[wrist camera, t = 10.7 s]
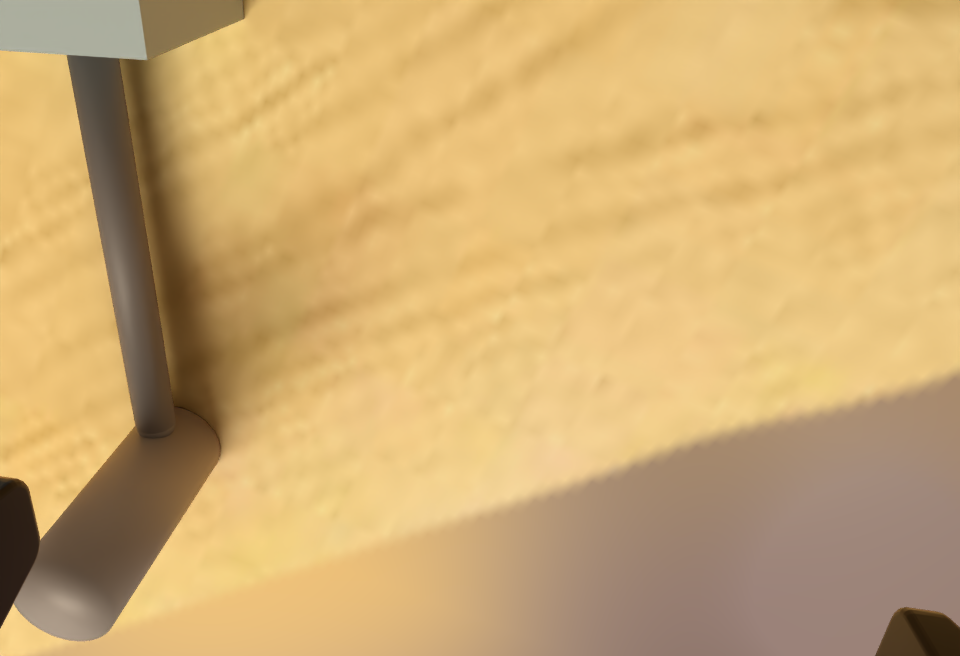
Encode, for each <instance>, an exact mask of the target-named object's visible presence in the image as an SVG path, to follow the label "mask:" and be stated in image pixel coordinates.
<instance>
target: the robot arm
mask: <svg viewBox="0 0 960 656" xmlns="http://www.w3.org/2000/svg"><path fill="white" fill-rule="evenodd" d="M39 547H40V536H39V531H38V527H37V522H36V518H35V513H34V509H33V504H32V500H31V496H30V491H29V488H28V486H27V485H26V484H25V483H24V482H23V481H21V480H19V479H15V478H8V477H1V476H0V628H1V626H2V624H3V622H4V620H5V619H6V617H7V615H8V613H9V611H10V609H11V607H12V605H13V603H14V601H15V599H16V597H17V596H18V594H19V592H20V590H21V588H22V586H23V584H24V582H25V580H26V578H27V576H28V574H29V573H30V571H31V569H32V567H33V565H34V563H35V561H36V558H37V555H38V552H39ZM875 656H960V627H959V626H958V625H957V624H956V623H954V622H953V621H952V620H951V619H950V618H949V617H947V616H946V615H944V614H943V613H939V612H936V611H929V610H923V609H916V608H909V607H904V608H900V609H898V610H897V611H896V612H895V613H894V615H893V616H892V618H891V620H890V623H889V625H888V627H887V630H886V632H885V634H884V637H883V639H882V641H881V644H880V646H879V648H878V650H877V653H876V655H875Z"/></svg>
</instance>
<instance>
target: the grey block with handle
mask: <svg viewBox="0 0 960 656" xmlns="http://www.w3.org/2000/svg"><path fill="white" fill-rule="evenodd" d="M242 19H244V11H243V0H0V50H2V51H17V52H33V53H48V54H63V55H67V59H68V65H69V70H70V75H71V81H72V86H73V91H74V97H75V102H76V108H77V113H78V118H79V124H80V129H81V135H82V140H83V145H84V151H85V156H86V162H87V167H88V172H89V178H90V183H91V188H92V194H93V199H94V205H95V210H96V215H97V221H98V226H99V232H100V237H101V242H102V248H103V253H104V258H105V264H106V269H107V275H108V280H109V285H110V291H111V296H112V302H113V307H114V312H115V318H116V323H117V328H118V334H119V339H120V345H121V350H122V355H123V361H124V366H125V372H126V377H127V382H128V388H129V393H130V398H131V404H132V409H133V415H134V420H135V425H136V426H135V427H134V428H133V429H132V431H131V432H130V433H129V434H128V435H127V437H126V438H125V439H124V440H123V441H122V443H121V444H120V445H119V446H118V447H117V449H116V450H115V451H114V452H113V454H112V455H111V456H110V457H109V458H108V460H107V461H106V462H105V463H104V464H103V466H102V467H101V468H100V469H99V470H98V472H97V473H96V474H95V475H94V476H93V478H92V479H91V480H90V481H89V482H88V484H87V485H86V486H85V487H84V488H83V490H82V491H81V492H80V493H79V494H78V496H77V497H76V498H75V499H74V500H73V502H72V503H71V504H70V505H69V506H68V508H67V509H66V510H65V511H64V512H63V514H62V515H61V516H60V517H59V519H58V520H57V521H56V522H55V523H54V525H53V526H52V527H51V528H50V529H49V531H48V532H47V533H46V534H45V535H44V537H43V538H42V539H41V540H40V547H39V552H38V555H37V558H36V561H35V563H34V565H33V567H32V569H31V571H30V573H29V574H28V576H27V578H26V580H25V582H24V584H23V586H22V588H21V590H20V592H19V594H18V596H17V597H16V599H15V601H14V605H15V607H16V608H17V609H18V611H19V612H20V613H21V614H22V615H23V617H25V618H26V619H27V620H28V621H29V622H30V623H31V624H33V625H34V626H36V627H37V628H39V629H40V630H42V631H44V632H46V633H48V634H50V635H52V636H55V637H58V638H62V639H65V640H71V641H90V640H94V639H97V638H100V637H102V636H103V635H105V634H106V633H107V632H108V631H109V630H110V629H111V627H112V626H113V624H114V623H115V621H116V620H117V618H118V617H119V615H120V613H121V612H122V610H123V609H124V607H125V606H126V604H127V603H128V601H129V599H130V598H131V596H132V595H133V593H134V592H135V590H136V589H137V587H138V585H139V584H140V582H141V581H142V579H143V578H144V576H145V574H146V573H147V571H148V570H149V568H150V567H151V565H152V564H153V562H154V560H155V559H156V557H157V556H158V554H159V553H160V551H161V550H162V548H163V546H164V545H165V543H166V542H167V540H168V539H169V537H170V536H171V534H172V532H173V531H174V529H175V528H176V526H177V525H178V523H179V522H180V520H181V518H182V517H183V515H184V514H185V512H186V511H187V509H188V508H189V506H190V504H191V503H192V501H193V500H194V498H195V497H196V495H197V494H198V492H199V490H200V489H201V487H202V486H203V484H204V483H205V481H206V479H207V478H208V476H209V475H210V473H211V472H212V470H213V469H214V467H215V465H216V464H217V462H218V460H219V457H220V444H219V440H218V438H217V436H216V434H215V432H214V431H213V429H212V428H211V427H210V425H209V424H208V423H207V422H206V421H205V420H203V419H202V418H201V417H199V416H198V415H196V414H194V413H192V412H190V411H188V410H185V409H182V408H178V407H174V404H173V398H172V392H171V385H170V379H169V373H168V366H167V360H166V354H165V347H164V341H163V335H162V328H161V322H160V316H159V309H158V303H157V297H156V290H155V284H154V278H153V271H152V265H151V259H150V252H149V246H148V240H147V233H146V227H145V221H144V214H143V208H142V202H141V195H140V189H139V183H138V176H137V170H136V164H135V157H134V151H133V145H132V138H131V132H130V126H129V119H128V113H127V107H126V100H125V94H124V88H123V81H122V75H121V69H120V62H119V58H123V59H138V60H149V59H151V58H153V57H156V56H158V55H160V54H163V53H165V52H167V51H170V50H172V49H174V48H177V47H179V46H182V45H184V44H186V43H189V42H191V41H193V40H196V39H198V38H200V37H203V36H205V35H207V34H210V33H212V32H214V31H217V30H219V29H221V28H224V27H226V26H228V25H231V24H233V23H235V22H238V21H240V20H242Z"/></svg>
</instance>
